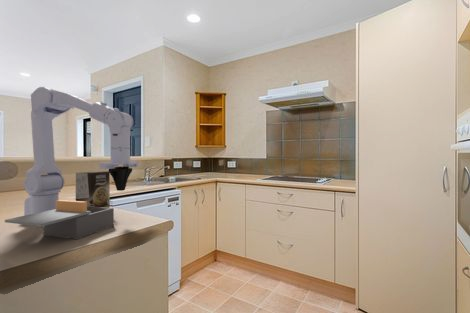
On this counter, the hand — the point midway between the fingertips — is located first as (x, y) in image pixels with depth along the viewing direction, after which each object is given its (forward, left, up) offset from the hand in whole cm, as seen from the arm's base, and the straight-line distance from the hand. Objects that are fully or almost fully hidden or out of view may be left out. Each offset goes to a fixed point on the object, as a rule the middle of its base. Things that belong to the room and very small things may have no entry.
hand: (120, 190), depth 75 cm
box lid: (-5, -18, -5) cm, 19 cm away
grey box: (-5, -10, -10) cm, 15 cm away
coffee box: (-15, +3, -11) cm, 19 cm away
